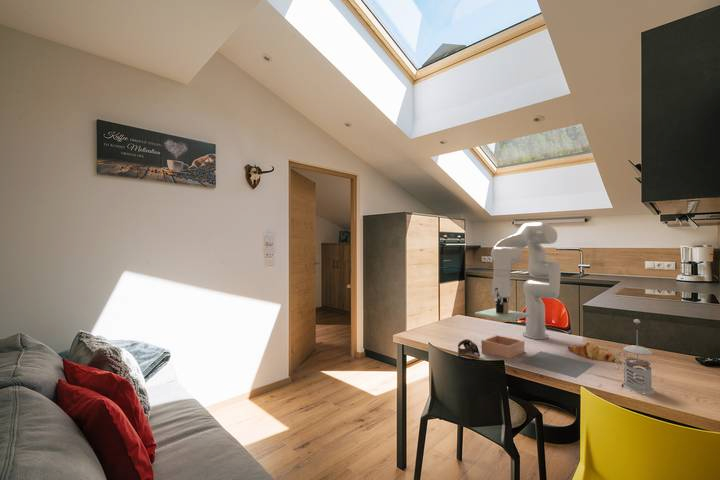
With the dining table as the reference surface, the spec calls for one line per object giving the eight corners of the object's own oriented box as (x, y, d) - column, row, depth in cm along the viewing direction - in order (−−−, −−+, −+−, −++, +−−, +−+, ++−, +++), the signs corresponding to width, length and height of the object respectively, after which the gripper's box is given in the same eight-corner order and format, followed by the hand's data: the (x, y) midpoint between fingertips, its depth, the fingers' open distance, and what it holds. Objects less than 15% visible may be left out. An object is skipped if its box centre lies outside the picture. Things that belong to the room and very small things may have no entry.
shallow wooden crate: (496, 346, 172) (496, 334, 172) (524, 353, 162) (524, 340, 162) (481, 352, 163) (481, 340, 163) (510, 360, 153) (509, 347, 153)
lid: (494, 309, 175) (494, 298, 175) (530, 315, 161) (530, 302, 161) (474, 314, 164) (474, 302, 164) (511, 321, 150) (511, 307, 150)
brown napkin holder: (484, 359, 156) (477, 345, 154) (465, 367, 157) (457, 353, 155) (476, 345, 167) (469, 331, 166) (458, 352, 169) (451, 339, 167)
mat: (540, 353, 162) (540, 351, 162) (595, 366, 145) (595, 363, 145) (519, 364, 148) (519, 362, 148) (576, 380, 131) (576, 377, 131)
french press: (645, 396, 117) (644, 323, 117) (609, 383, 127) (608, 316, 127) (661, 391, 121) (660, 320, 121) (625, 379, 131) (624, 314, 131)
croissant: (623, 371, 147) (626, 353, 150) (616, 365, 142) (619, 347, 144) (570, 357, 164) (573, 341, 167) (562, 351, 159) (565, 335, 161)
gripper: (503, 271, 171) (503, 308, 171) (485, 273, 160) (485, 312, 160) (518, 272, 165) (518, 310, 165) (500, 275, 154) (500, 315, 154)
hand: (502, 311), depth 162 cm, fingers closed on lid, 4 cm apart
